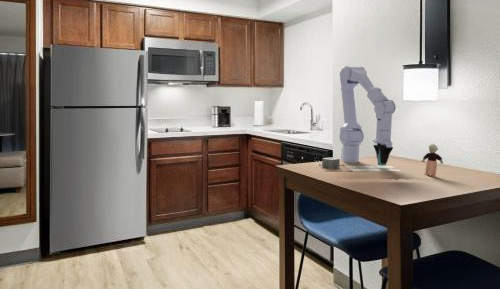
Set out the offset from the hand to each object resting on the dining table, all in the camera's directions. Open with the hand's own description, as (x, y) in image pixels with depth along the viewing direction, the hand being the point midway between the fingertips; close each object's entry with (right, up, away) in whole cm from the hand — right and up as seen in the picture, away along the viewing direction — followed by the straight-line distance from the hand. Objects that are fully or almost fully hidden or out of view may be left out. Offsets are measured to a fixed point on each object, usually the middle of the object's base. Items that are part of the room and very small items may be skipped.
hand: (382, 162), depth 161 cm
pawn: (0, -1, 0) cm, 1 cm away
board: (-10, -4, 0) cm, 11 cm away
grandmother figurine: (+16, -5, -9) cm, 19 cm away
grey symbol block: (-21, -4, +2) cm, 21 cm away
